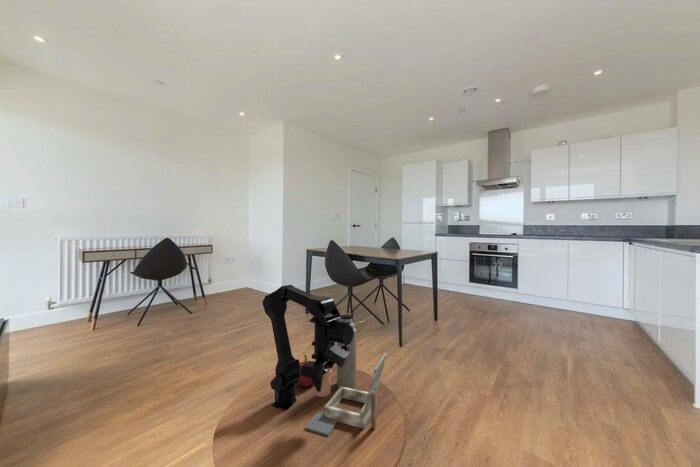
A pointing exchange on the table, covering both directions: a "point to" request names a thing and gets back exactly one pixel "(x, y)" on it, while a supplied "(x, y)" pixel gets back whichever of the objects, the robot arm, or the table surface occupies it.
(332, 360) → the robot arm
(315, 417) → the pad
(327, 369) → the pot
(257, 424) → the table surface
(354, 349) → the thermos bottle
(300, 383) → the vegetable
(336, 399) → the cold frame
